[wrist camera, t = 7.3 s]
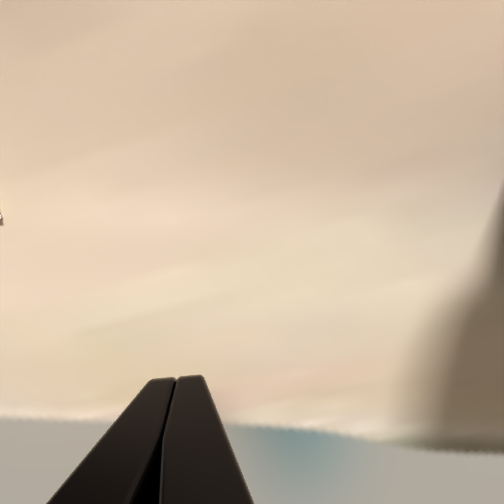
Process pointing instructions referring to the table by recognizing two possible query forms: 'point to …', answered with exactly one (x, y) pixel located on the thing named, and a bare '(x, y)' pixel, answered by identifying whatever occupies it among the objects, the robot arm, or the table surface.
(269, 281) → the table surface
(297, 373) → the table surface
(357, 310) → the table surface
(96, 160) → the table surface
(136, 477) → the robot arm
